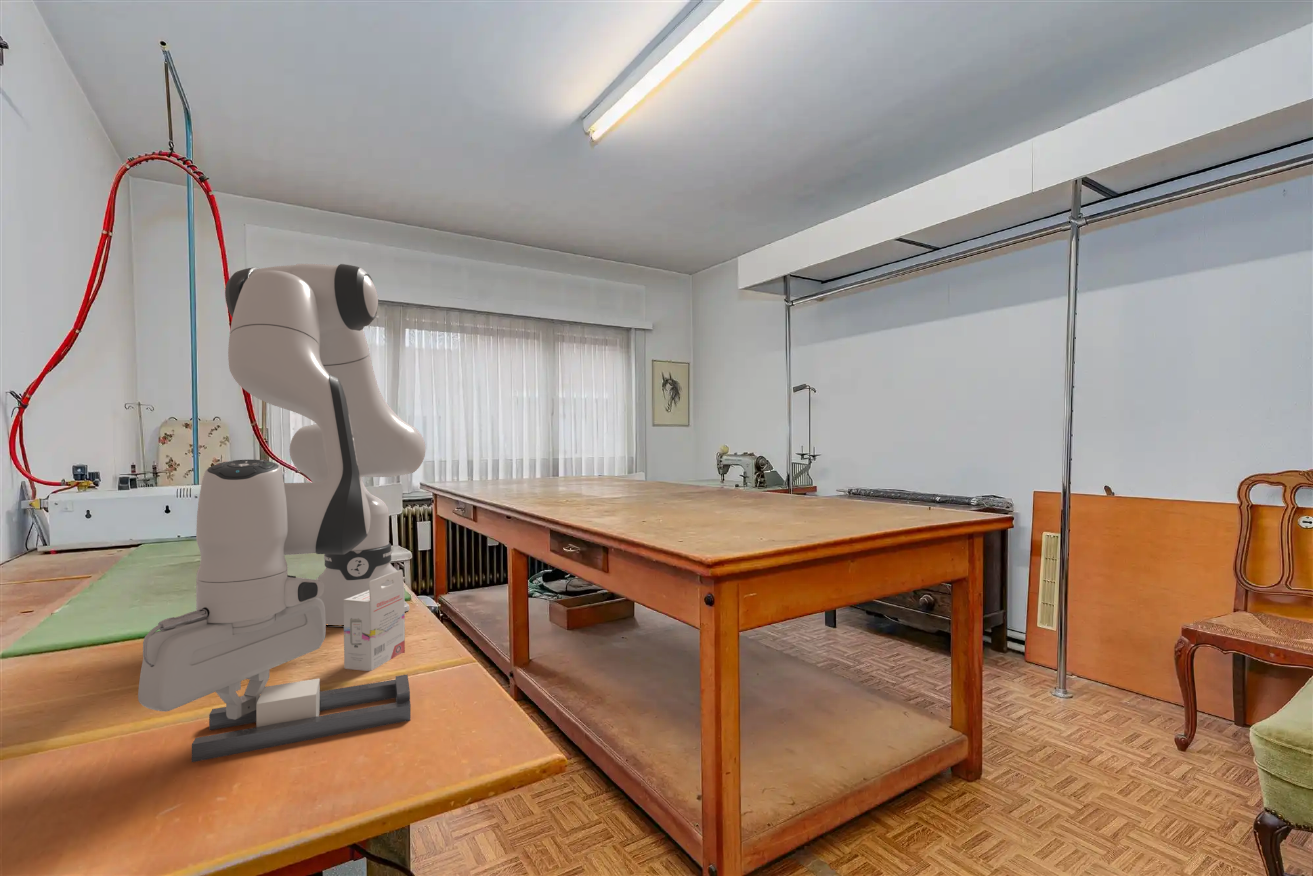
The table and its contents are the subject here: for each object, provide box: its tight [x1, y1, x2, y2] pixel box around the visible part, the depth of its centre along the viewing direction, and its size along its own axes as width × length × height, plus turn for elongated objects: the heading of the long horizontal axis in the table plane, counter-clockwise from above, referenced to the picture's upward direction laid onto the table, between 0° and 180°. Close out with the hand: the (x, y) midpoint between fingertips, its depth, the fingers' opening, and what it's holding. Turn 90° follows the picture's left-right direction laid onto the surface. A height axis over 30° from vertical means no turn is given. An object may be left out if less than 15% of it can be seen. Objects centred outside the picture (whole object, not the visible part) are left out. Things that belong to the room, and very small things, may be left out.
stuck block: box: [255, 678, 321, 727], centre depth 71 cm, size 5×6×4 cm
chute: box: [191, 674, 412, 763], centre depth 72 cm, size 9×22×4 cm, turn 116°
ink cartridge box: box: [343, 569, 406, 672], centre depth 92 cm, size 9×5×15 cm, turn 168°
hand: (243, 713), depth 69 cm, fingers closed
